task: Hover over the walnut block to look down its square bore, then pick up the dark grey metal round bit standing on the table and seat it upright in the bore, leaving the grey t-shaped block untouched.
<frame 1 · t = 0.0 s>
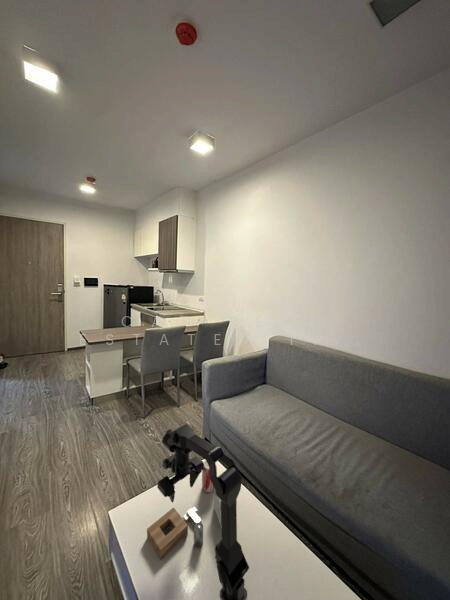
hand: (181, 493, 93), 15 cm above the table, fingers open, 9 cm apart
soda can: (209, 487, 113), on the table
round bit: (198, 543, 89), on the table
bore block: (167, 536, 91), on the table
grey t-shaped block: (193, 520, 97), on the table
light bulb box: (224, 515, 100), on the table
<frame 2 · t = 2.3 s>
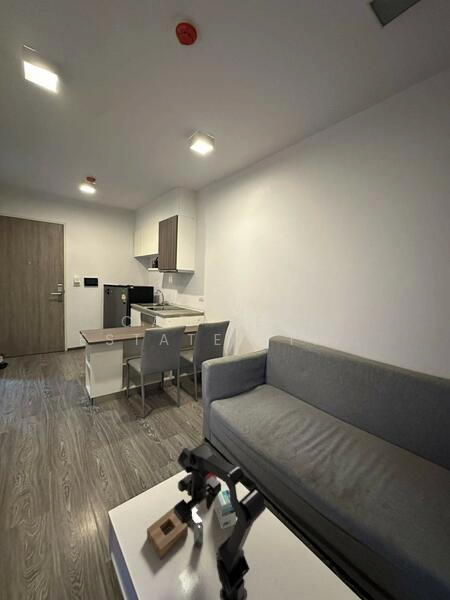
hand: (198, 517, 88), 11 cm above the table, fingers open, 9 cm apart
nothing on the table moved.
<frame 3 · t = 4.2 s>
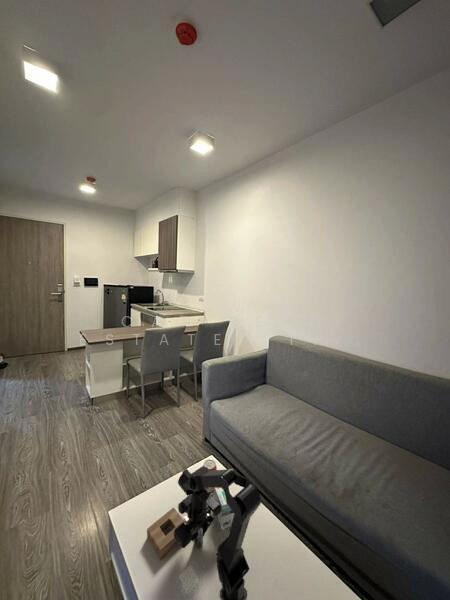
hand: (198, 539, 89), 2 cm above the table, fingers closed on round bit, 3 cm apart
round bit: (198, 543, 89), on the table, touching gripper
everything else where it was.
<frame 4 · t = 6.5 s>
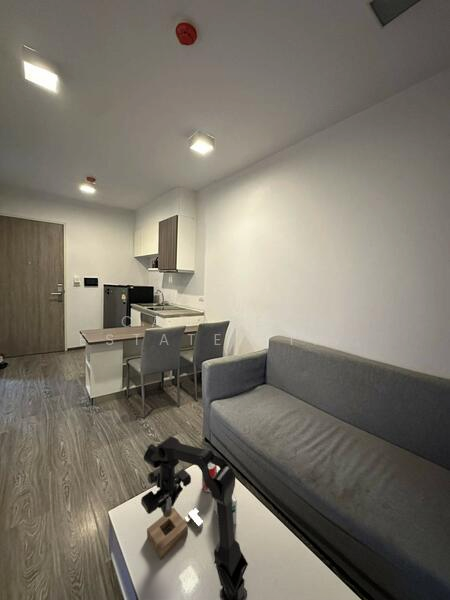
hand: (167, 509, 90), 12 cm above the table, fingers closed on round bit, 3 cm apart
round bit: (167, 512, 90), point 10 cm above the table, touching gripper
everything else where it was.
when the fingers open (4 cm above the table, at t = 8.7 s): round bit drops 3 cm, resting in bore block.
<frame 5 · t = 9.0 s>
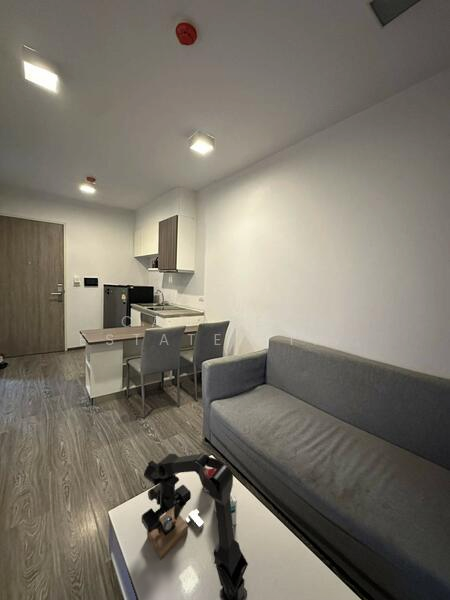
hand: (167, 525, 91), 4 cm above the table, fingers open, 7 cm apart
round bit: (167, 535, 91), resting in bore block
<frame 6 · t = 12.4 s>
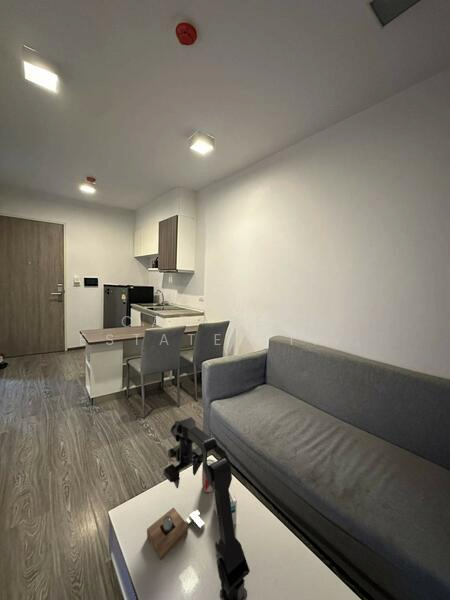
hand: (185, 480, 102), 12 cm above the table, fingers open, 9 cm apart
at the end: round bit 0.1 cm off-centre on the bore block, point 0.0 cm above the bore block's base; round bit tilted 1°; the gripper is holding nothing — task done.
